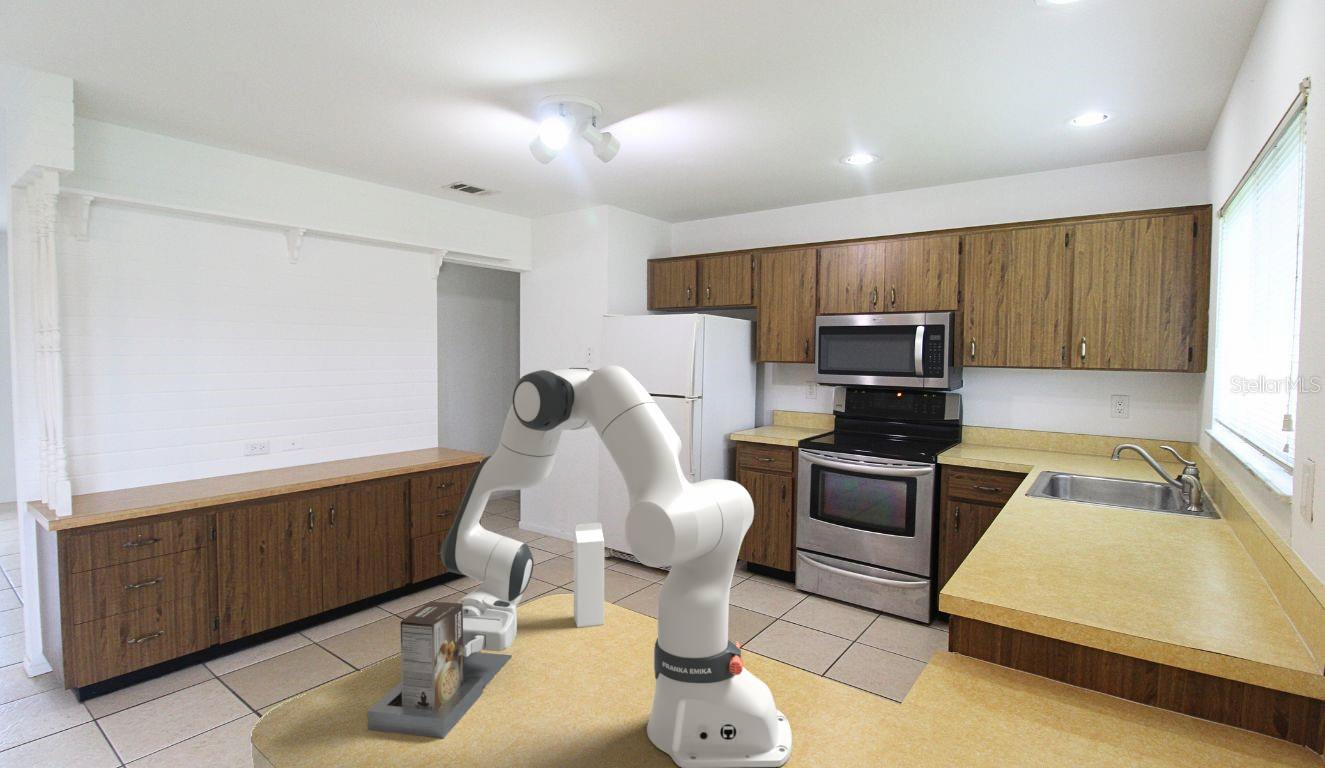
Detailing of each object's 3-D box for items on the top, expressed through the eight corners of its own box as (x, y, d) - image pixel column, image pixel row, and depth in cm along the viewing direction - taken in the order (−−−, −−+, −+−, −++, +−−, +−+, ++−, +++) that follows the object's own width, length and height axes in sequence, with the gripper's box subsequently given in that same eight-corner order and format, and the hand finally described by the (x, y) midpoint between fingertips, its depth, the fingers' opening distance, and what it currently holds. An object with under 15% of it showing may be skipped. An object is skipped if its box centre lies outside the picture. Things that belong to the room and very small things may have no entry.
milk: (604, 625, 139) (604, 526, 138) (576, 627, 137) (577, 528, 136) (599, 614, 144) (599, 519, 144) (573, 616, 143) (573, 521, 142)
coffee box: (431, 689, 111) (431, 599, 110) (465, 693, 110) (464, 602, 109) (400, 717, 102) (399, 620, 101) (435, 722, 101) (435, 623, 100)
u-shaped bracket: (483, 692, 110) (483, 676, 110) (443, 738, 96) (443, 719, 96) (415, 686, 112) (414, 669, 112) (367, 729, 99) (367, 711, 98)
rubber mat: (511, 657, 123) (511, 655, 123) (484, 688, 111) (484, 686, 111) (454, 652, 125) (454, 650, 125) (422, 682, 113) (422, 680, 113)
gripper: (424, 598, 122) (380, 627, 108) (523, 604, 118) (492, 636, 105) (424, 630, 122) (381, 663, 108) (524, 637, 119) (492, 673, 105)
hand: (436, 650), depth 106 cm, fingers open, 8 cm apart
